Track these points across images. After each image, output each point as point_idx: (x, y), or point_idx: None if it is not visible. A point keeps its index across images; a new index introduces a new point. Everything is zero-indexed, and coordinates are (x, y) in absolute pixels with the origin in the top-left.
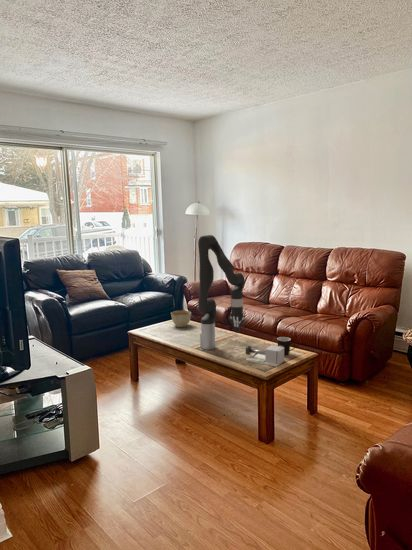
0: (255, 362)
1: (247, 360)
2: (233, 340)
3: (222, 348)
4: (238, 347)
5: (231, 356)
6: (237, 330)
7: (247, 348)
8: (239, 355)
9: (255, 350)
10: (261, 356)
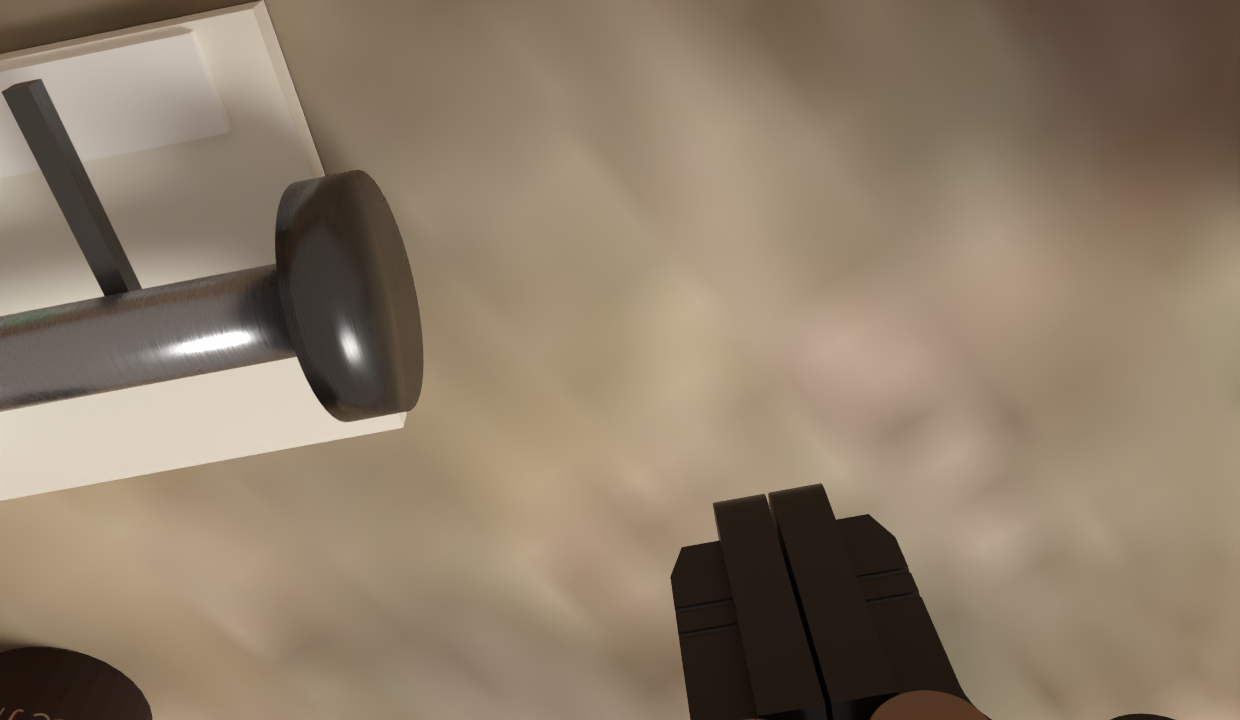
0: (11, 52)
1: (217, 10)
2: (1195, 704)
3: (1209, 291)
4: (928, 518)
5: (745, 10)
6: (728, 575)
7: (295, 253)
8: (631, 188)
9: (122, 333)
10: None
